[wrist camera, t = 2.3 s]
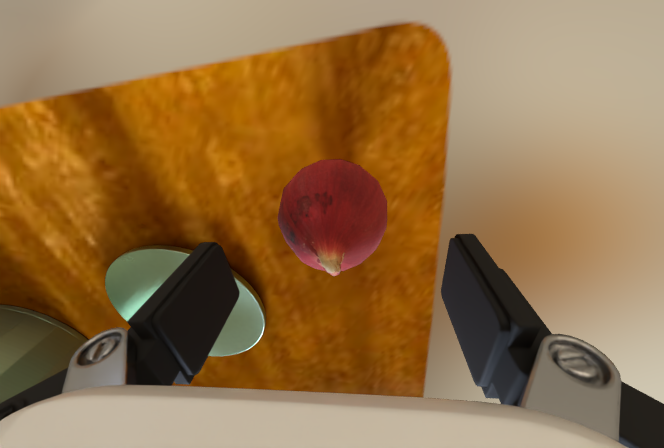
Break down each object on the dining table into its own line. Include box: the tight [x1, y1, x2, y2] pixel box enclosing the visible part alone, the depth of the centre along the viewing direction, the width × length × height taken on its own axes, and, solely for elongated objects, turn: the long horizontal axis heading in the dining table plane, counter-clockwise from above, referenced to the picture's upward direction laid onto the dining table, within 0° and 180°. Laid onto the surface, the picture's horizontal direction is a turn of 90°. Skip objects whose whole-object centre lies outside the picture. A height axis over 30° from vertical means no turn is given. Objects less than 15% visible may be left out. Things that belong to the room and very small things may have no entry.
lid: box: [105, 245, 266, 356], centre depth 21 cm, size 15×15×7 cm
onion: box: [278, 159, 387, 276], centre depth 13 cm, size 6×6×8 cm
